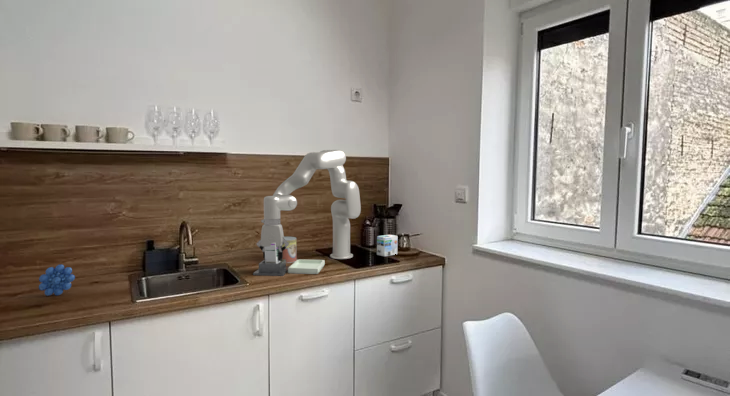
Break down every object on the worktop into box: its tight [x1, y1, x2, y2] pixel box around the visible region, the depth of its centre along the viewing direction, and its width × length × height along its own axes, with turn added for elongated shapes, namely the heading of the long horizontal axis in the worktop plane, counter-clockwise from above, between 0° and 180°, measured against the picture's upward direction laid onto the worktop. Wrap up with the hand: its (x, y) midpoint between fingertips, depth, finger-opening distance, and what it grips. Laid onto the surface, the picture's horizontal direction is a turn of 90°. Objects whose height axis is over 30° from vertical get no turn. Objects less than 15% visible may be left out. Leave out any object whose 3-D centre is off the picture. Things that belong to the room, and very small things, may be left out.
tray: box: [287, 258, 326, 275], centre depth 201 cm, size 18×14×2 cm
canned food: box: [282, 236, 298, 264], centre depth 217 cm, size 11×11×12 cm
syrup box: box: [265, 242, 281, 264], centre depth 195 cm, size 6×6×14 cm
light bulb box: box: [376, 234, 399, 257], centre depth 234 cm, size 11×7×11 cm, turn 131°
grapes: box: [38, 264, 76, 296], centre depth 158 cm, size 12×7×12 cm, turn 113°
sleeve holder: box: [252, 259, 291, 277], centre depth 195 cm, size 14×14×5 cm
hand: (273, 259), depth 195 cm, fingers closed on syrup box, 6 cm apart
